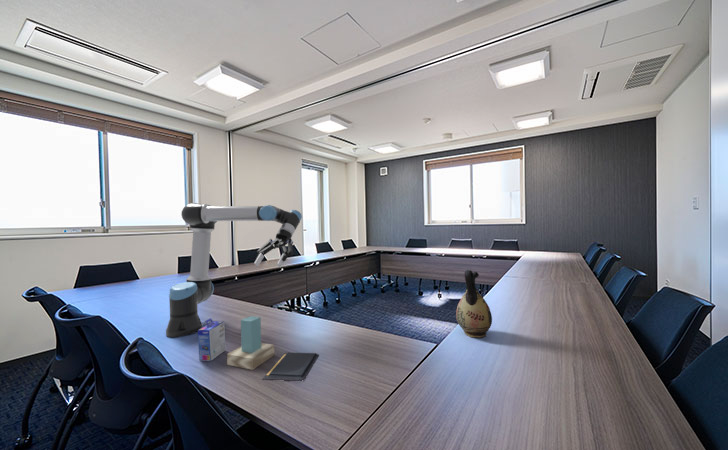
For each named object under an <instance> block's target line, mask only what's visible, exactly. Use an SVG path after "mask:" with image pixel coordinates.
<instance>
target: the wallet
mask: <svg viewBox="0 0 728 450" xmlns="http://www.w3.org/2000/svg"><path fill="white" fill-rule="evenodd" d="M319 356H320V354H318V353H316V352H284V353H283V354H282V355H281V357H280V358H279V359H278V360H277V361H276V363H274V364H273V365H272V367H271V368H270V369H269V371H268V372H266V374H265V375H264V376H263V378H262V379H261V381H262V380H263V381H273V380H284V381H283V382H290V381H302V380H304V379H305V380H306V378H307V377H306V376H308V374H309V373H310V372H311V369H312V368H313V366H314V365H315V363H316V362H317V360H318V359H319ZM313 364H314V365H313ZM305 380H304V381H305Z"/></svg>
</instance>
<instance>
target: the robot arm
mask: <svg viewBox="0 0 728 450" xmlns="http://www.w3.org/2000/svg"><path fill="white" fill-rule="evenodd" d="M181 218H182V220H183V221H184V222H185V223H186V224H188V225H189V229H190V230H191V231H192V242H191V243H192V244H191V246H192V247H191V260H190V272H189V273H190V274H189V276H188V277H186V281H185V282H181V283H178V284H174V285H173V286H172V287H171V288H170V289H169V294H168V298H169V320H168V324H167V326H166V328H165V336H166V337H168V338H181V337H186V336H190V335H192V334H193V335H194V334H196V333H198V330H199V329H201V328H203V323H202V321H201V318H200V317H199V314H198V308H199V307H198V305H199V304H201V303H203V302H206V301H207V300H208V299H209V298H211V296H212V295H213V293H214V290H215V287H214V286H215V285H214V283H212V277H211V276H210V275H209V267H210V257H211V255H210V254H211V253H210V252H211V239H212V237H211V235H212V232H213V231H214V230H215V224H216V223H217V222H252V221H253V222H254V221H255V222H264V221H265V222H270V221H271V222H276V223H278V224H281V226H280V228H279V230H278V231H277V233H276V234H275V238H274V239H272V238H269V239H268V240H267V241H266V243H264V244H263V245H262V246H261V247H260V248H259V249H257V251H256V252H257V254H258V255H257V256H256V259H255V261H254V263H253V264H254V265H255V266H256V268H257V267H259V266H260V264H261V263H262V261H263V259H264V258H265V255H266V254H268V253H269V252H272V250H274V249H282V250H283V252H282V254H281V256H280V257H279V259H278V261H277V263H276V265H277V266H278V268H282V266H283V265H284V262H286V260H287V258H288V257H292V256H293V244H294V241H293V239H292V237H293V235H294V233H295V232H296V230H297V228H298V226H299V224H300V222H301V220H302V218H303V216H302V213H301V212H300V211H299V210H296V209H292V210H290V211H288V210H284V209H281V208H279V207H277V206H274V205H272V204H271V205H270V204H268V205H260V206H259V205H247V206H246V205H232V206H228V205H225V206H224V205H220V206H218V205H217V206H216V205H215V206H214V205H213V206H212V205H210V204H207V203H206V204H205V203H197V202H191V203H187V204H186V205H185V206H184V207H182V210H181ZM286 245H287V246H286Z"/></svg>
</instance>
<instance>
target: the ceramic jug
mask: <svg viewBox="0 0 728 450" xmlns="http://www.w3.org/2000/svg"><path fill="white" fill-rule="evenodd" d="M478 277H479V273H478V272H477V271H472V269H466V270H465V271H464V280H465V286H466V291H465V292H464V293H463V295H462V297H461V298H460V300H459V302H458V304H457V307H456V311H455V312H456V313H455V318H456V321H457V324H458V326H459V327H460V328H461V329H462V331H463V332H464V334H465V335H466V336H468V337H470V338H485V337H486V336H487V332H488V331H489V330H490V329H491V326H492V323H493V317H492V312H491V308H490V306H489V304H488V303H487V301H486V300H485V298H484V296H482V294H481V293H480V292H479V291H478V289H477V288H476V278H478ZM484 336H485V337H484Z"/></svg>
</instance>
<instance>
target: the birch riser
mask: <svg viewBox="0 0 728 450" xmlns="http://www.w3.org/2000/svg"><path fill="white" fill-rule="evenodd" d="M274 355H275V344H270V343H264V342H261V348H260V349H258V350H256V351H255V352H253V353H248V352H243V351H242V348H241V346H239V347H238V348H235V349H234V350H232V351H230V352H228V353H227V354H226V359H227V361H226V364H227V365H228V366H232V367H237V368H241V369H247V370H254V369H256V368H257V367H259V366H260V365H262V364H263V363H265V362H266V361H267V360H269V359H271V358H272V357H274Z"/></svg>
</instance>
